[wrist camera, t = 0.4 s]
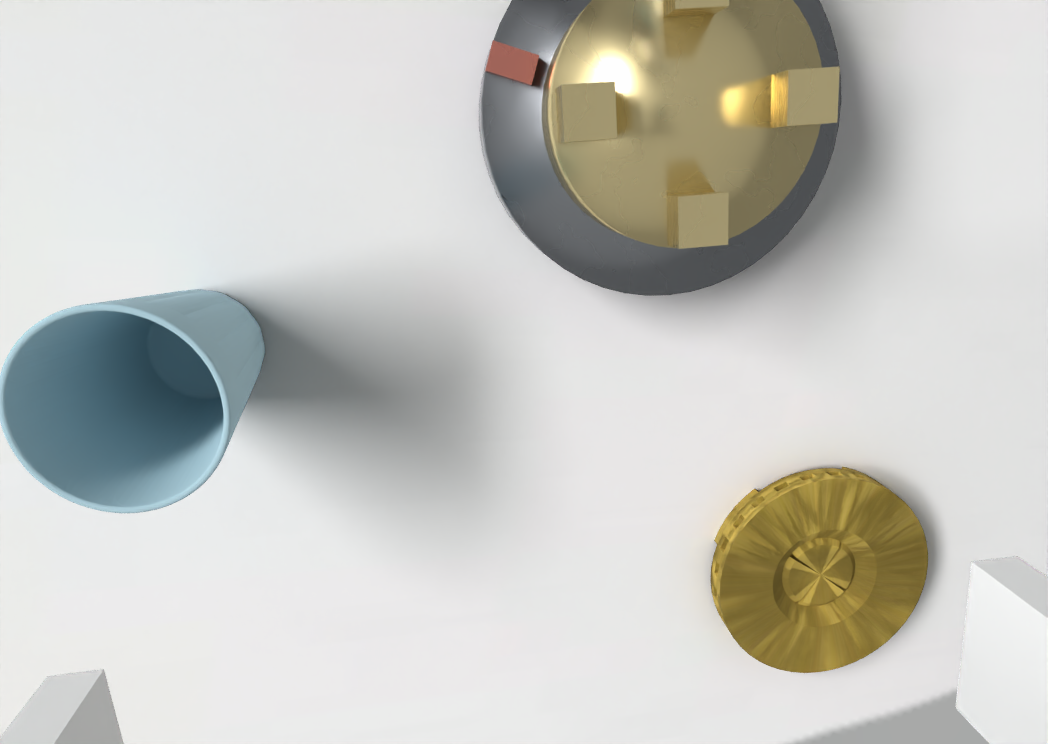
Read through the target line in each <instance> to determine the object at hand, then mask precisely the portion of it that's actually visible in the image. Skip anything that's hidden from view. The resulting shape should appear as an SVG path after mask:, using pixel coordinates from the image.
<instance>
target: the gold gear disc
mask: <svg viewBox="0 0 1048 744" xmlns="http://www.w3.org/2000/svg"><path fill="white" fill-rule="evenodd" d="M714 541H715V542H716V543H717V547H716V550H715V553H714V556H713V562H712V567H711V589H712V595H713V599H714V603H715V606H716V608H717V611H718V613H719V615H720V617H721V618H722V620H723V622H724V623H725V625H726V627H727V628H728V630H729V631H730V633H731V635H732V636H733V638H734V639H735V640H736V642H737V643H738V644H739V645H740V647H742V648H743V649H744V650H745V651H746V652H747V653H748V654H749V655H751V656H752V657H754V658H755V659H757V660H758V661H760V662H762V663H764V664H766V665H768V666H771V667H774V668H777V669H780V670H785V671H790V672H800V673H811V672H821V671H828V670H832V669H836V668H840V667H843V666H846V665H848V664H851V663H854V662H856V661H858V660H860V659H862V658H864V657H866V656H867V655H869V654H870V653H872V652H874V651H875V650H877V649H878V648H879V647H881V646H882V645H883V644H884V643H886V642H887V641H888V640H889V639H890V638H891V637H892V636H893V635H894V634H895V633H896V632H897V631H898V630H899V629H900V628H901V627H902V625H903V624H904V623H905V622H906V620H907V619H908V617H909V616H910V614H911V613H912V612H913V610H914V608H915V606H916V604H917V602H918V600H919V598H920V595H921V593H922V590H923V587H924V583H925V580H926V575H927V568H928V550H927V543H926V539H925V535H924V532H923V529H922V527H921V525H920V522H919V520H918V519H917V517H916V516H915V514H914V513H913V511H912V510H911V509H910V507H909V506H908V505H907V504H906V503H905V502H904V501H903V500H902V499H900V498H899V497H898V496H897V495H895V494H894V493H893V492H891V491H890V490H889V489H887V488H886V487H884V486H883V485H882V484H880V483H879V482H877V481H876V480H874V479H873V478H871V477H869V476H867V475H866V474H864V473H861V472H859V471H856V470H853V469H849V468H846V467H842V469H836V468H821V469H813V470H807V471H803V472H799V473H795V474H792V475H789V476H787V477H784V478H782V479H780V480H778V481H776V482H774V483H772V484H770V485H768V486H767V487H765V488H764V489H762V490H761V491H759V492H758V491H757V490H756V489H754V490H752V491H751V492H750V493H749V494H748V495H746V496H745V497H744V498H743V499H742V500H741V501H740V502H739V503H738V504H737V505H736V506H735V507H734V509H733V510H732V511H731V512H730V514H729V515H728V516H727V518H726V519H725V521H724V522H723V524H722V526H721V527H720V529H719V531H718V534H717V536H716V538H715V540H714Z"/></svg>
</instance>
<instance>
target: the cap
mask: <svg viewBox="0 0 1048 744" xmlns="http://www.w3.org/2000/svg"><path fill="white" fill-rule="evenodd" d="M591 1H592V0H512V1H511V3H510V5H509V7H508V9H507V11H506V13H505V15H504V17H503V19H502V21H501V22H500V25H499V27H498V30H497V33H496V35H495V38H494V40H493V42H492V45H491V49H490V51H489V54H488V57H487V60H486V64H485V69H484V73H483V77H482V82H481V91H480V100H479V131H480V138H481V145H482V151H483V156H484V159H485V163H486V167H487V170H488V174H489V177H490V179H491V182H492V184H493V186H494V189H495V191H496V194H497V196H498V198H499V199H500V201H501V203H502V205H503V206H504V208H505V210H506V212H507V213H508V215H509V216H510V218H511V219H512V220H513V222H514V223H515V224H516V226H517V227H518V228H519V229H520V231H521V232H522V233H523V234H524V235H525V236H526V237H527V238H528V239H529V240H530V241H531V242H532V243H533V244H534V245H535V246H536V247H537V248H538V249H539V250H540V251H542V252H543V253H544V254H545V255H547V256H548V257H549V258H551V259H552V260H553V261H554V262H556V263H557V264H558V265H560V266H561V267H562V268H564V269H565V270H567V271H569V272H571V273H573V274H574V275H576V276H578V277H580V278H581V279H583V280H586V281H588V282H591V283H593V284H596V285H598V286H601V287H603V288H607V289H611V290H615V291H619V292H623V293H629V294H638V295H672V294H678V293H685V292H691V291H694V290H698V289H701V288H705V287H708V286H711V285H714V284H716V283H718V282H721V281H723V280H725V279H728V278H730V277H732V276H734V275H736V274H737V273H739V272H741V271H742V270H744V269H746V268H747V267H749V266H751V265H752V264H754V263H755V262H756V261H758V260H759V259H760V258H762V257H763V256H764V255H765V254H767V253H768V252H769V251H771V250H772V249H773V248H774V247H775V246H776V245H777V244H778V243H779V242H780V241H781V240H782V239H783V238H784V237H785V236H786V235H787V234H788V233H789V231H790V230H791V229H792V228H793V226H794V225H795V224H796V223H797V221H798V220H799V219H800V218H801V216H802V215H803V213H804V212H805V210H806V209H807V207H808V205H809V204H810V202H811V201H812V199H813V197H814V196H815V194H816V192H817V190H818V188H819V185H820V183H821V181H822V179H823V177H824V175H825V173H826V170H827V167H828V164H829V161H830V158H831V155H832V152H833V149H834V144H835V140H836V135H837V131H838V126H839V116H840V106H841V76H840V71H839V95H838V119H837V123H829V124H821V125H820V130H819V134H818V138H817V141H816V144H815V147H814V150H813V153H812V155H811V157H810V159H809V161H808V163H807V166H806V168H805V170H804V172H803V173H802V175H801V176H800V178H799V180H798V181H797V183H796V185H795V186H794V187H793V189H792V190H791V191H790V193H789V194H788V195H787V196H786V198H785V199H784V200H783V201H782V202H781V203H780V204H779V205H778V206H777V207H776V208H775V209H774V210H773V211H772V212H771V213H770V214H769V215H768V216H766V217H765V218H764V219H762V220H761V221H760V222H759V223H757V224H756V225H754V226H753V227H751V228H749V229H748V230H746V231H744V232H743V233H741V234H739V235H737V236H734V237H732V238H730V239H728V245H718V246H707V247H695V248H683V249H678V248H667V247H659V246H654V245H651V244H647V243H643V242H640V241H637V240H634V239H631V238H629V237H626V236H623V235H621V234H618V233H616V232H614V231H611V230H609V229H607V228H606V227H604V226H602V225H600V224H599V223H597V222H596V221H594V220H593V219H592V218H590V217H589V216H588V215H587V214H585V213H584V212H583V211H582V210H581V209H580V208H579V207H578V206H577V205H576V204H575V203H574V202H573V201H572V199H571V198H570V197H569V195H568V194H567V192H566V191H565V190H564V188H563V187H562V185H561V183H560V182H559V180H558V178H557V176H556V174H555V173H554V170H553V168H552V165H551V162H550V160H549V157H548V154H547V150H546V146H545V142H544V137H543V129H542V97H543V89H544V83H545V79H546V75H547V71H548V68H549V65H550V62H551V60H552V57H553V55H554V52H555V50H556V48H557V46H558V44H559V43H560V41H561V39H562V37H563V35H564V34H565V32H566V31H567V29H568V28H569V27H570V25H571V24H572V22H573V21H574V20H575V19H576V17H577V16H578V15H579V14H580V13H581V12H582V11H583V9H584V8H585V7H586V6H587V5H588V4H589V3H590V2H591ZM793 1H794V2H795V3H796V5H797V6H798V7H799V9H800V11H801V12H802V14H803V16H804V17H805V19H806V21H807V23H808V24H809V27H810V29H811V32H812V34H813V36H814V39H815V41H816V44H817V48H818V52H819V55H820V59H821V65H822V68H825V67H839V62H838V54H837V49H836V46H835V42H834V38H833V34H832V31H831V27H830V25H829V22H828V20H827V17H826V15H825V12H824V10H823V7H822V5H821V3H820V1H819V0H793Z"/></svg>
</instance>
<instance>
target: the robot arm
mask: <svg viewBox="0 0 1048 744" xmlns="http://www.w3.org/2000/svg"><path fill="white" fill-rule="evenodd" d="M956 709H957V710H958V711H959V712H960V713H961V714H962V715H963V716H964V717H965V718H966V719H967V720H968V721H969V722H970V724H971V725H972V726H973V727H974V728H975V729H976V730H977V731H978V732H979V733H980V734H981V735H982V736H983V737H984V738H985V739H986V740H987V742H988V743H989V744H1048V577H1047V576H1046V575H1045V574H1043V573H1042V572H1040V571H1039V570H1037V569H1036V568H1034V567H1033V566H1031V565H1030V564H1028V563H1027V562H1025V561H1024V560H1022V559H1021V558H1019V557H1018V556H1013V557H1005V558H997V559H989V560H981V561H973V562H972V563H971V572H970V581H969V590H968V599H967V608H966V617H965V626H964V636H963V645H962V654H961V663H960V672H959V681H958V690H957V699H956ZM0 744H124V743H123V740H122V736H121V732H120V728H119V725H118V721H117V717H116V713H115V710H114V706H113V702H112V698H111V695H110V691H109V687H108V683H107V679H106V676H105V672H104V669H102V670H94V671H86V672H78V673H70V674H62V675H54V676H47V678H46V679H45V680H44V681H43V683H42V684H41V685H40V687H39V688H38V689H37V691H36V692H35V693H34V694H33V696H32V697H31V698H30V700H29V701H28V702H27V703H26V705H25V706H24V707H23V709H22V710H21V711H20V713H19V714H18V715H17V716H16V718H15V719H14V720H13V722H12V723H11V724H10V725H9V727H8V728H7V729H6V731H5V732H4V733H3V735H2V736H1V737H0Z"/></svg>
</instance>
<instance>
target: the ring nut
mask: <svg viewBox="0 0 1048 744" xmlns="http://www.w3.org/2000/svg"><path fill="white" fill-rule="evenodd" d="M839 71H840V67H825V68H822V65H821V59H820V55H819V52H818V48H817V44H816V41H815V39H814V36H813V34H812V32H811V29H810V27H809V24H808V23H807V21H806V19H805V17H804V16H803V14H802V12H801V11H800V9H799V7H798V6H797V5H796V3H795V2H794V1H793V0H592V1H591V2H590V3H589V4H588V5H587V6H586V7H585V8H584V9H583V11H582V12H581V13H580V14H579V15H578V16H577V17H576V19H575V20H574V21H573V22H572V24H571V25H570V27H569V28H568V29H567V31H566V32H565V34H564V35H563V37H562V39H561V41H560V43H559V44H558V46H557V48H556V50H555V52H554V55H553V57H552V60H551V62H550V65H549V68H548V71H547V75H546V79H545V83H544V89H543V97H542V129H543V137H544V142H545V146H546V150H547V154H548V157H549V160H550V162H551V165H552V168H553V170H554V173H555V174H556V176H557V178H558V180H559V182H560V183H561V185H562V187H563V188H564V190H565V191H566V192H567V194H568V195H569V197H570V198H571V199H572V201H573V202H574V203H575V204H576V205H577V206H578V207H579V208H580V209H581V210H582V211H583V212H584V213H585V214H587V215H588V216H589V217H590V218H592V219H593V220H594V221H596V222H597V223H599V224H600V225H602V226H604V227H606V228H607V229H609V230H611V231H614V232H616V233H618V234H621V235H623V236H626V237H629V238H631V239H634V240H637V241H640V242H643V243H647V244H651V245H654V246H659V247H667V248H678V249H683V248H695V247H707V246H718V245H728V239H730V238H732V237H734V236H737V235H739V234H741V233H743V232H744V231H746V230H748V229H749V228H751V227H753V226H754V225H756V224H757V223H759V222H760V221H761V220H762V219H764V218H765V217H766V216H768V215H769V214H770V213H771V212H772V211H773V210H774V209H775V208H776V207H777V206H778V205H779V204H780V203H781V202H782V201H783V200H784V199H785V198H786V196H787V195H788V194H789V193H790V191H791V190H792V189H793V187H794V186H795V185H796V183H797V181H798V180H799V178H800V176H801V175H802V173H803V172H804V170H805V168H806V166H807V163H808V161H809V159H810V157H811V155H812V153H813V150H814V147H815V144H816V141H817V138H818V134H819V130H820V125H821V124H829V123H837V119H838V95H839Z"/></svg>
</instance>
